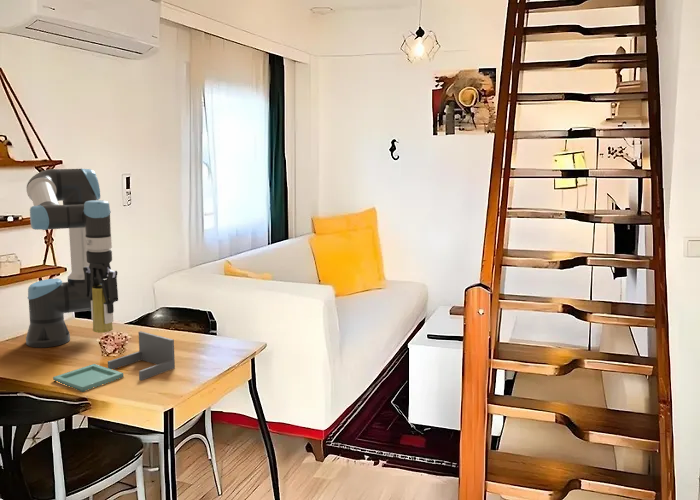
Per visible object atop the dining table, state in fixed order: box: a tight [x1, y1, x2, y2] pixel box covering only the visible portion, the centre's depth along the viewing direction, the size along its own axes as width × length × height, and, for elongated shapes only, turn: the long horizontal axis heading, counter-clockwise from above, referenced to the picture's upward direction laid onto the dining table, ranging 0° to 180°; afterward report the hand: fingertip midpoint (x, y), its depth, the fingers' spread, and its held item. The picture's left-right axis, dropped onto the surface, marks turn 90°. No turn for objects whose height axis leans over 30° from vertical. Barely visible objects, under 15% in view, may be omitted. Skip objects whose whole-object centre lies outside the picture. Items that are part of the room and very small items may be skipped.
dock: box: [107, 330, 176, 381], centre depth 219 cm, size 17×14×10 cm
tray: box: [52, 363, 124, 393], centre depth 209 cm, size 15×15×2 cm
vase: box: [92, 285, 114, 334], centre depth 209 cm, size 6×6×14 cm
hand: (102, 320), depth 210 cm, fingers closed on vase, 6 cm apart
